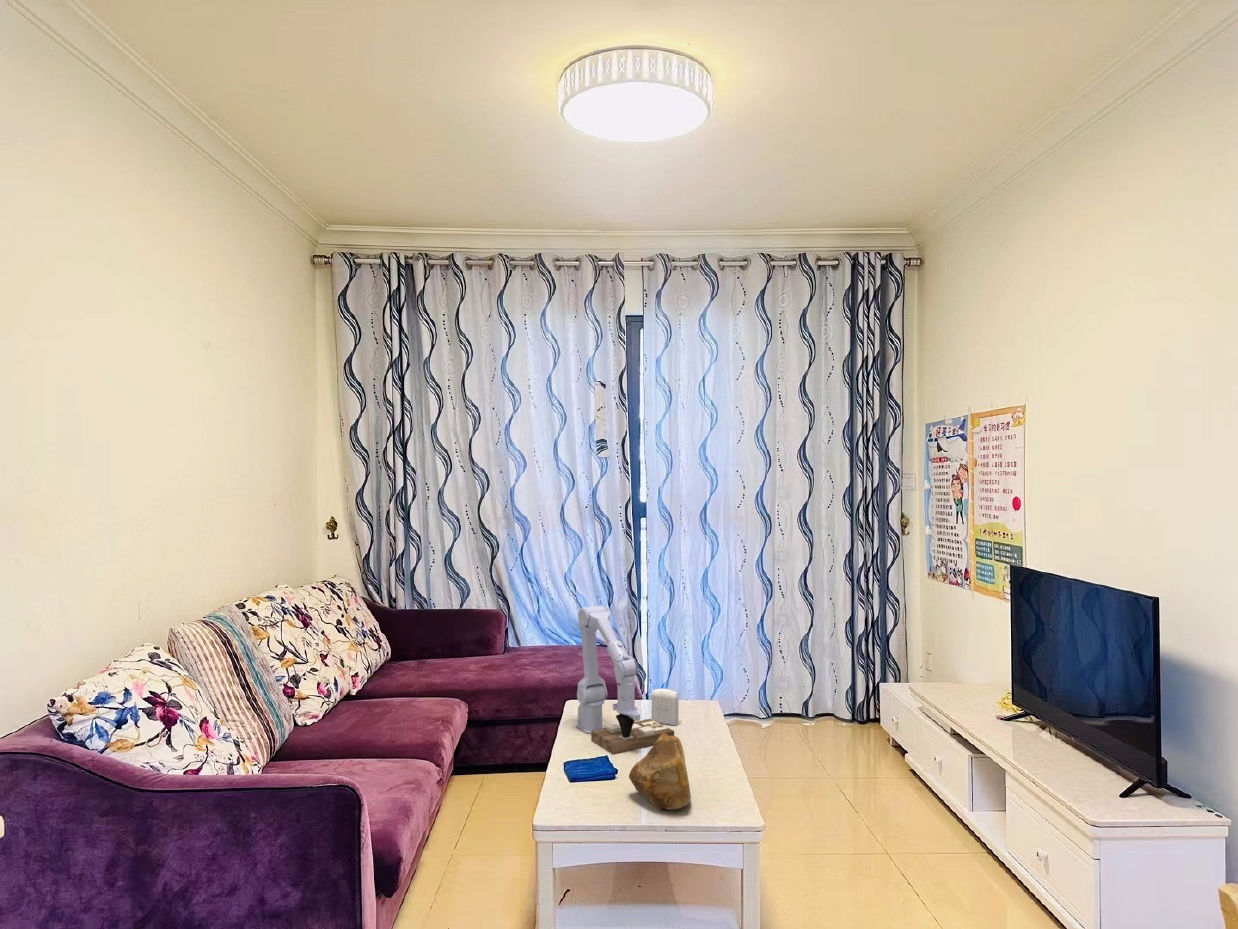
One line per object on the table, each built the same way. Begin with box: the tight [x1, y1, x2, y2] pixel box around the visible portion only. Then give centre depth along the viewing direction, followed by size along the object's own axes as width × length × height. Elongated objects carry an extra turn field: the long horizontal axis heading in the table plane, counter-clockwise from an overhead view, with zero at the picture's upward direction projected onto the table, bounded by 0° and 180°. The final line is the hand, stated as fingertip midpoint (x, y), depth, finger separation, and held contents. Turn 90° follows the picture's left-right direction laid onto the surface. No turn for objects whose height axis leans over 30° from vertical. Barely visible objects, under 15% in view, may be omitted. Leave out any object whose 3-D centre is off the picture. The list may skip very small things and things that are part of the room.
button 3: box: [632, 723, 642, 729], centre depth 260 cm, size 4×4×1 cm
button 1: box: [605, 723, 621, 733], centre depth 256 cm, size 4×4×1 cm
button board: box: [590, 718, 675, 755], centre depth 255 cm, size 15×24×4 cm, turn 120°
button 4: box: [638, 726, 655, 736], centre depth 253 cm, size 4×4×1 cm
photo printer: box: [651, 688, 679, 726], centre depth 274 cm, size 10×4×12 cm, turn 67°
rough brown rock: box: [628, 733, 692, 811], centre depth 210 cm, size 23×17×15 cm
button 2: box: [618, 735, 634, 740], centre depth 249 cm, size 4×4×1 cm
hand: (626, 737), depth 249 cm, fingers closed, pressing on button 2
